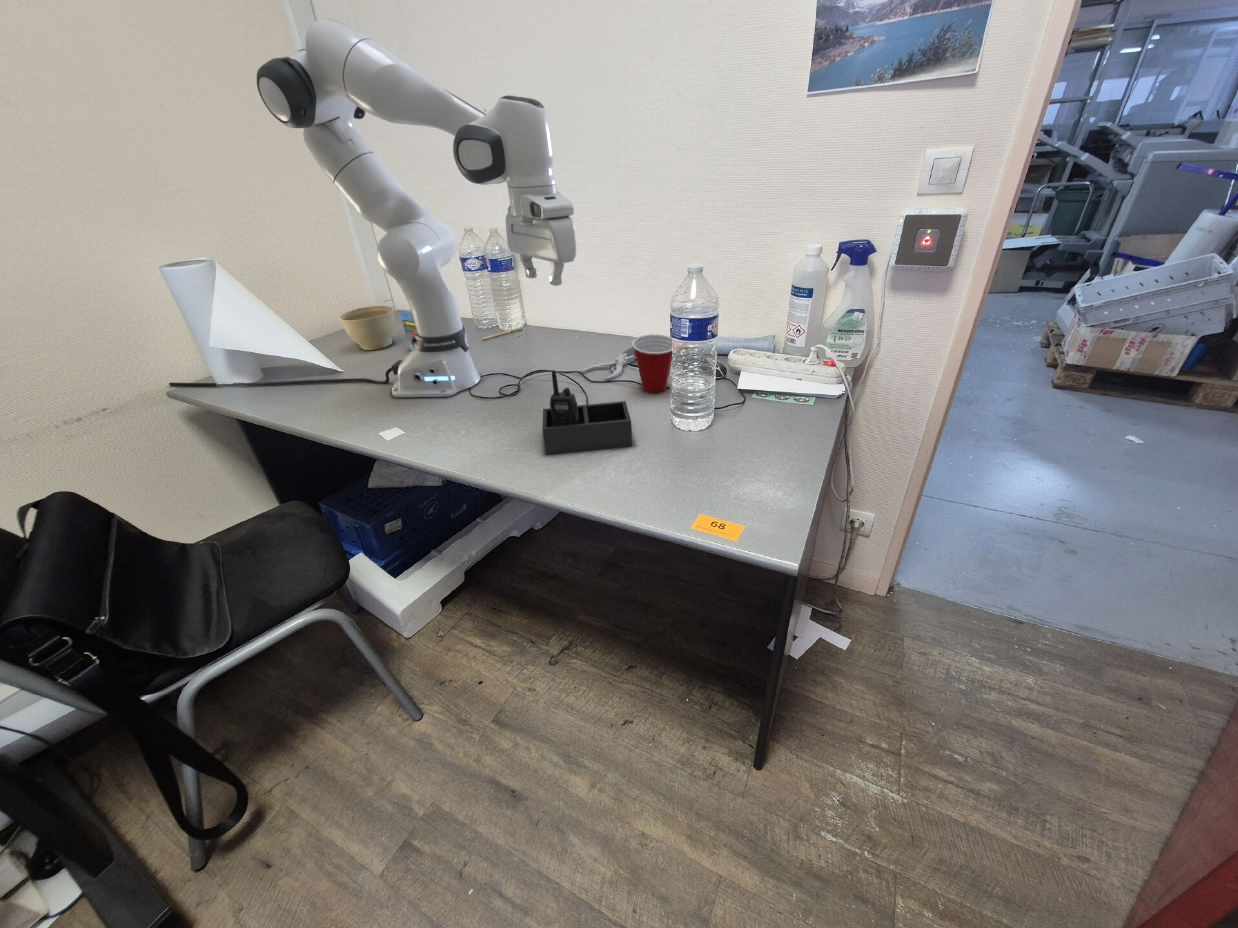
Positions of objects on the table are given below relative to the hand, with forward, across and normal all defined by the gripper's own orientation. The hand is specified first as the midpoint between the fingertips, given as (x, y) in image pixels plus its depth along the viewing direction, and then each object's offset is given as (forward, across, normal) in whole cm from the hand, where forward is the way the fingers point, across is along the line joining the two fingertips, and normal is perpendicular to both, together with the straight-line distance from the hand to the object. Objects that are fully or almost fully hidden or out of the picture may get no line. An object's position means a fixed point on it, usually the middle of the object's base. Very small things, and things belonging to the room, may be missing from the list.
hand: (543, 281), depth 100 cm
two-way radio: (+28, +13, -6) cm, 32 cm away
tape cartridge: (+30, -67, -7) cm, 74 cm away
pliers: (+29, -12, +25) cm, 41 cm away
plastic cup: (+29, +6, +24) cm, 39 cm away
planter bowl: (+30, -84, -17) cm, 91 cm away
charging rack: (+29, +15, -2) cm, 33 cm away
